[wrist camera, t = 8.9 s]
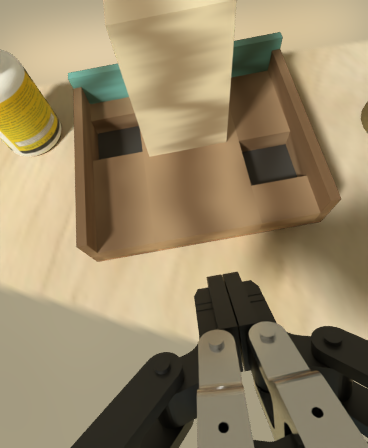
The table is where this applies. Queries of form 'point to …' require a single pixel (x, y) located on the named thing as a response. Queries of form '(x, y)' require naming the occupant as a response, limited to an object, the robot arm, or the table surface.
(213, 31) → the maple block
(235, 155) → the trap lane
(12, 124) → the supplement bottle
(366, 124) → the olive pawn
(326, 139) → the table surface
